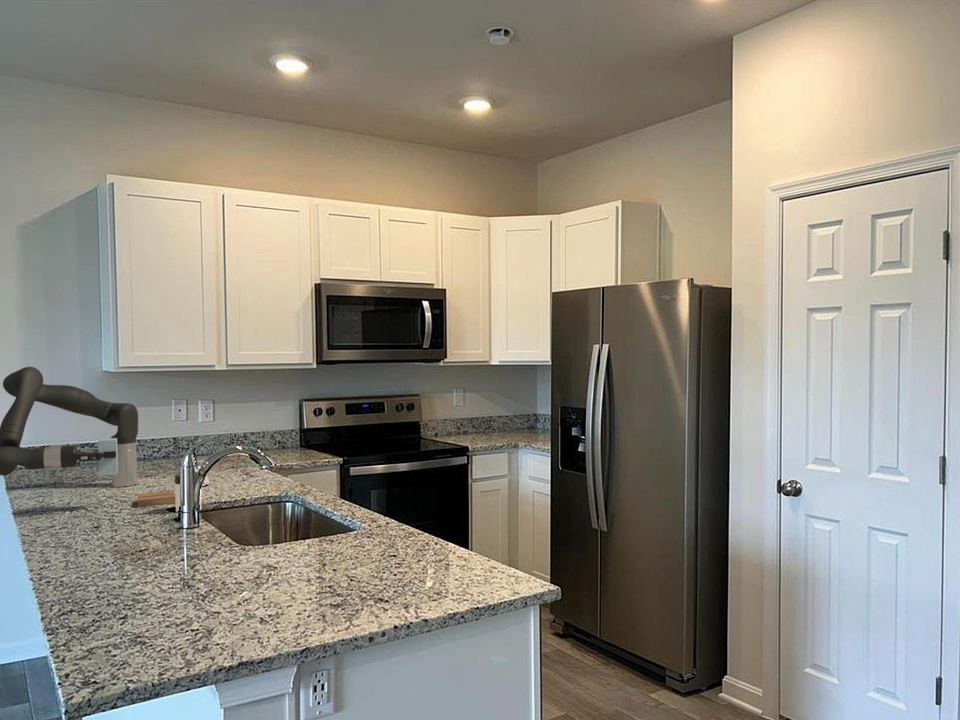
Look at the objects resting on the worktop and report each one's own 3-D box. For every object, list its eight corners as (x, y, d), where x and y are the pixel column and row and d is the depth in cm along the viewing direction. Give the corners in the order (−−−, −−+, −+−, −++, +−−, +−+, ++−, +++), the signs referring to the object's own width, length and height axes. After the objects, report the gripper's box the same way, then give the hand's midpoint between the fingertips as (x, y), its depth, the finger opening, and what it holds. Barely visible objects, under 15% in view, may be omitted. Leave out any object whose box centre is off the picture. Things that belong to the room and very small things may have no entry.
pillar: (100, 473, 250) (99, 439, 250) (117, 472, 252) (116, 438, 252) (99, 475, 245) (98, 441, 245) (117, 474, 247) (116, 439, 247)
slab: (138, 502, 258) (138, 494, 258) (174, 498, 263) (174, 490, 263) (137, 509, 247) (137, 500, 247) (175, 505, 252) (175, 496, 252)
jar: (201, 511, 239) (200, 475, 238) (175, 513, 236) (173, 477, 236) (202, 505, 247) (201, 471, 247) (176, 508, 244) (175, 473, 244)
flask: (214, 484, 288) (213, 459, 288) (205, 487, 281) (204, 462, 281) (196, 484, 289) (196, 459, 289) (187, 487, 282) (187, 462, 282)
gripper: (57, 448, 236) (114, 444, 243) (63, 443, 249) (117, 440, 256) (58, 471, 236) (115, 466, 243) (63, 465, 249) (117, 461, 256)
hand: (116, 453), depth 249 cm, fingers closed on pillar, 5 cm apart
